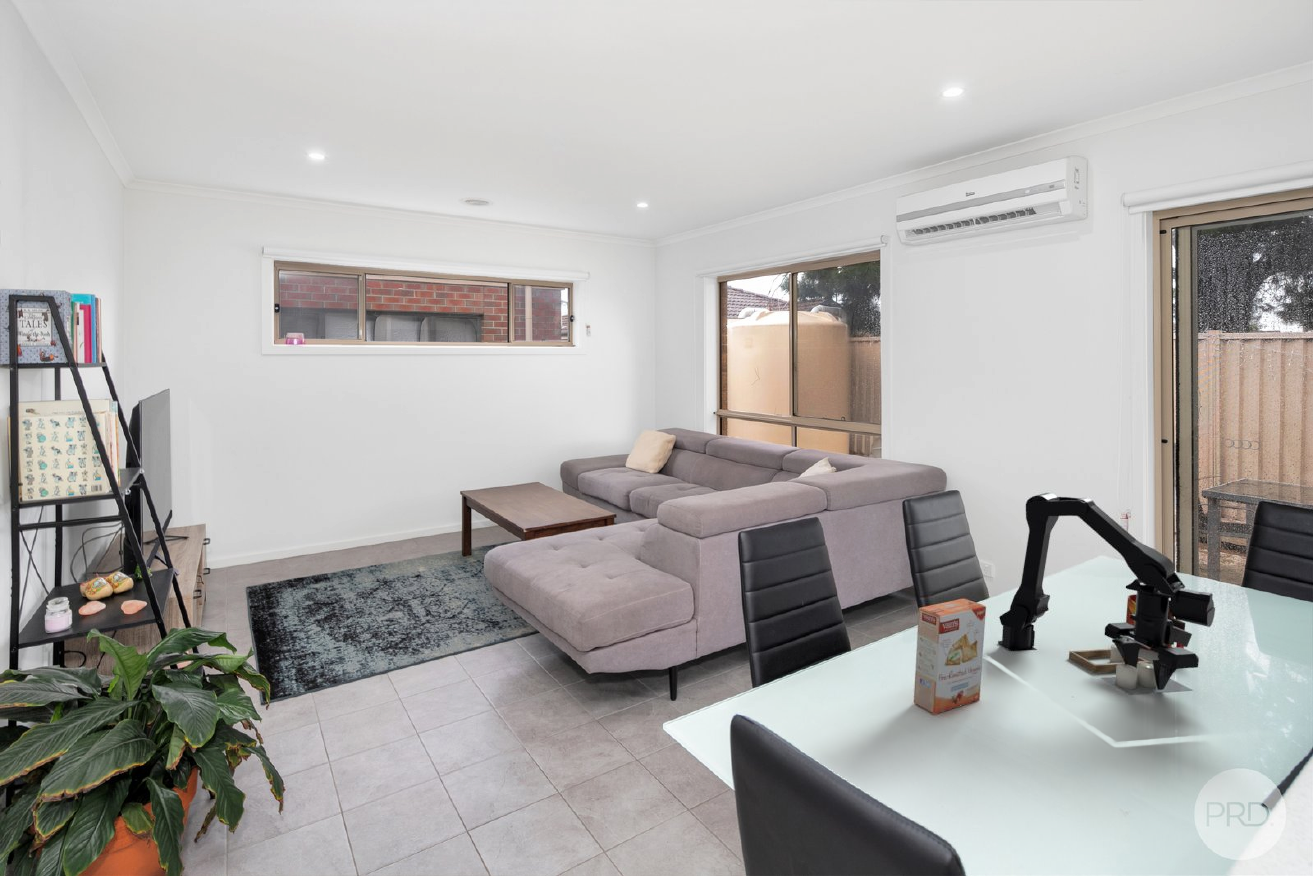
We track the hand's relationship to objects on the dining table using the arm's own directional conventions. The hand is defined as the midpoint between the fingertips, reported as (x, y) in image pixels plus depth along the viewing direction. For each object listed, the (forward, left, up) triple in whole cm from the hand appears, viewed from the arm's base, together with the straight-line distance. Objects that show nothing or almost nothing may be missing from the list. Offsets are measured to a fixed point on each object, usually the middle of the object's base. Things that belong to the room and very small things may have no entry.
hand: (1146, 682), depth 150 cm
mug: (+20, +18, -2) cm, 27 cm away
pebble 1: (+3, +10, -1) cm, 11 cm away
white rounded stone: (-5, 0, 0) cm, 5 cm away
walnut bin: (0, +10, -1) cm, 11 cm away
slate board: (0, 0, -1) cm, 1 cm away
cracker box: (-47, -1, -2) cm, 47 cm away
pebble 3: (0, 0, 0) cm, 0 cm away
